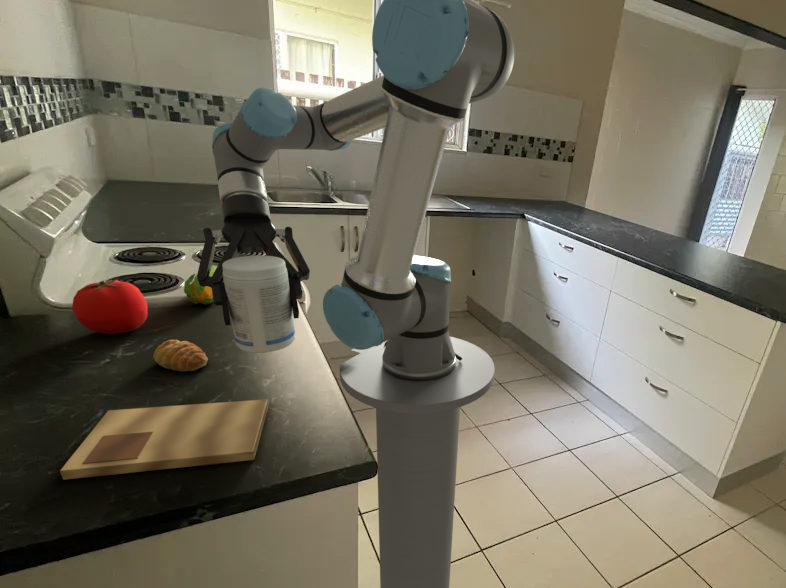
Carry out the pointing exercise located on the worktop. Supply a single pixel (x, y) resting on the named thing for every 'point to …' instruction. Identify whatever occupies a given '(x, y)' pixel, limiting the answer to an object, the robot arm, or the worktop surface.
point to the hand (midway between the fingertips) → (263, 318)
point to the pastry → (180, 356)
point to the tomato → (110, 307)
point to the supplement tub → (259, 302)
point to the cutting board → (169, 438)
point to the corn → (198, 290)
